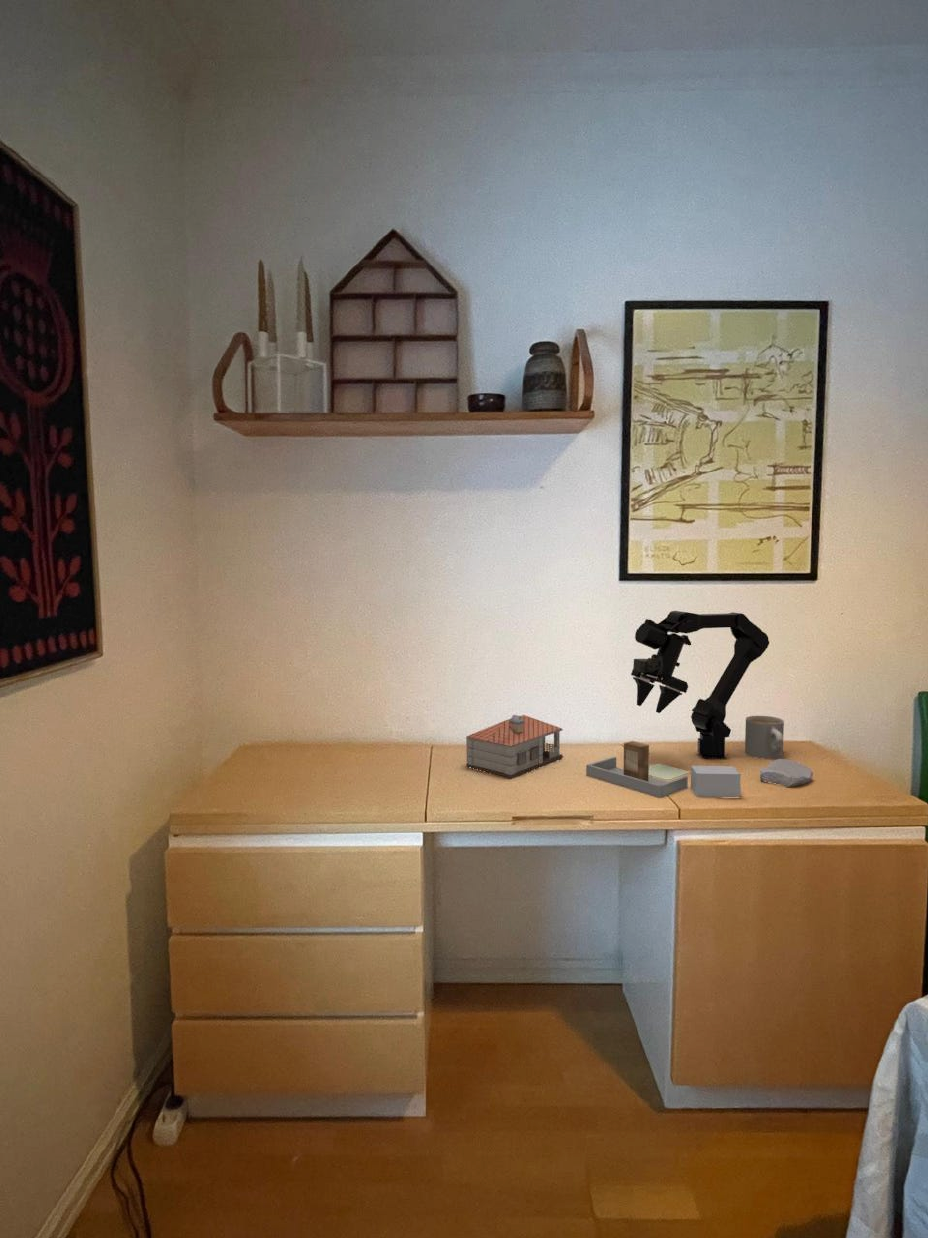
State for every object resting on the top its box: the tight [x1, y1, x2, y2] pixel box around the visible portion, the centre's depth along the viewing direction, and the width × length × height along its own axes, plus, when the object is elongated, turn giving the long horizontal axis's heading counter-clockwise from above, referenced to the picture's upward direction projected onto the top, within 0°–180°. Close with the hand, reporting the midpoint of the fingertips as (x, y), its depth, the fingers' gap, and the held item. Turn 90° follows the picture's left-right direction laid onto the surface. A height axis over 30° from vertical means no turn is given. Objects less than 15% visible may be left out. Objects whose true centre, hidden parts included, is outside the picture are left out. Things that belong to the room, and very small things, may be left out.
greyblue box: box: [690, 765, 742, 798], centre depth 172 cm, size 10×6×6 cm, turn 85°
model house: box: [465, 714, 564, 780], centre depth 198 cm, size 24×16×15 cm, turn 138°
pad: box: [649, 763, 691, 781], centre depth 188 cm, size 10×10×1 cm
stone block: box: [759, 758, 814, 788], centre depth 181 cm, size 12×5×10 cm
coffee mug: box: [744, 715, 785, 760], centre depth 202 cm, size 13×10×10 cm
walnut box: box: [623, 740, 650, 782], centre depth 181 cm, size 4×5×10 cm
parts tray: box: [585, 756, 689, 799], centre depth 181 cm, size 11×23×3 cm, turn 40°
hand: (647, 709), depth 195 cm, fingers open, 9 cm apart
